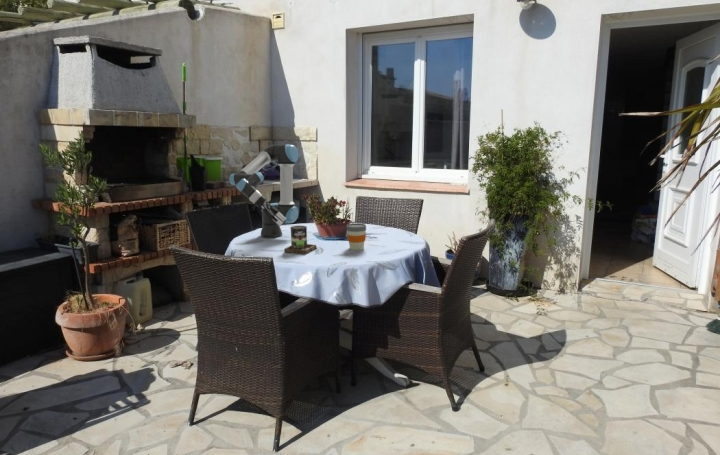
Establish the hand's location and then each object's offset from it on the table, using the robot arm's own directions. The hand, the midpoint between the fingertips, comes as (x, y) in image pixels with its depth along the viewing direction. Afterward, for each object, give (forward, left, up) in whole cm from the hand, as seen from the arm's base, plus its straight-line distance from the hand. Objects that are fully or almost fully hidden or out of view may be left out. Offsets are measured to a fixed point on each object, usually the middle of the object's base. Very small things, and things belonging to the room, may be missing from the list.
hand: (283, 222), depth 330 cm
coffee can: (-5, +8, -18) cm, 20 cm away
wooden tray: (-3, +10, -18) cm, 21 cm away
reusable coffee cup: (-19, +42, -19) cm, 50 cm away
